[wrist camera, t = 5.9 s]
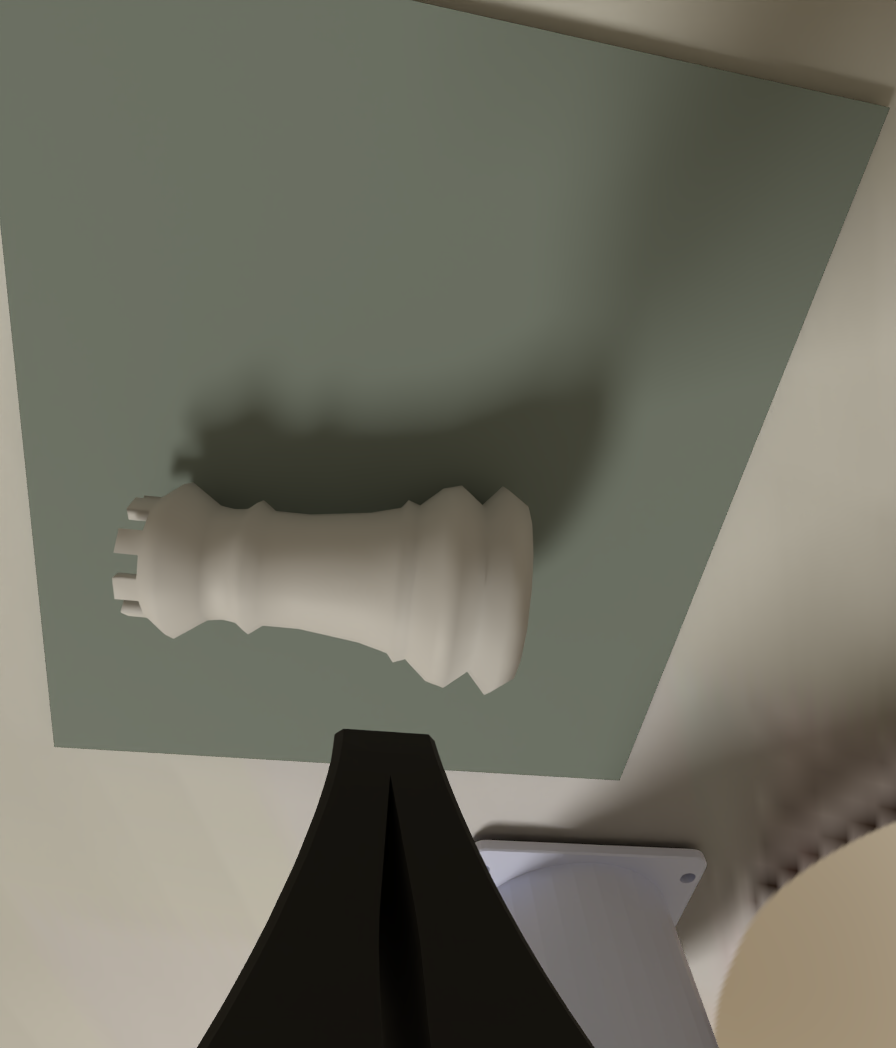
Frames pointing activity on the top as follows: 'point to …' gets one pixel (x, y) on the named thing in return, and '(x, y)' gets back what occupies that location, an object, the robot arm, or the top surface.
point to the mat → (394, 339)
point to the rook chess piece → (344, 576)
